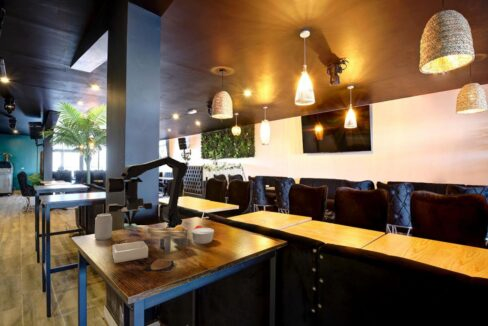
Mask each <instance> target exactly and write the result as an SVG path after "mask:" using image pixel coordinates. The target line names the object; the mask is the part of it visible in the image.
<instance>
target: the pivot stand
mask: <svg viewBox="0 0 488 326" xmlns="http://www.w3.org/2000/svg"><path fill="white" fill-rule="evenodd" d="M158 240H159V241H158V243H159V244H158V247H159V248H164V254H165V255H169V254H171V243H172V241H171V240H172V239H171V237H170V236H168V237H165V239H158Z"/></svg>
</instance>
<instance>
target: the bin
mask: <svg viewBox="0 0 488 326" xmlns="http://www.w3.org/2000/svg"><path fill="white" fill-rule="evenodd" d="M112 258H113V262H114V264H119V263H123V262H128V261H133V260H140V259H141V260H142V259H145V258H149V247H148V245H147V244H146V242H145V241H144V240H139V241H138V240H137V241H133V242H132V241H131V242H125V243H120V244H119V243H118V244H112Z"/></svg>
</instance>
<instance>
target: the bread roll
mask: <svg viewBox="0 0 488 326" xmlns="http://www.w3.org/2000/svg"><path fill="white" fill-rule="evenodd" d="M176 266H177V262H174V260H170V259H169V258H157V259H153V260H151V262H148V265H146V266H145V267H144V268H143V273H171V272H172V273H173V272H174V271H175V268H176Z"/></svg>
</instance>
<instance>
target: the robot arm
mask: <svg viewBox="0 0 488 326" xmlns="http://www.w3.org/2000/svg"><path fill="white" fill-rule="evenodd" d="M163 166H167V167H169V168H170V169H172V170H171V173H172V174H171V175H172V183H171V189H170V193H169V198H168V204H167V205H166V206H163V208H162V213H161V215H162V218H163V220H164V221H165V223H166V227H165V228H175V227H176V226H178V225H181V226H182V223H183V220H182V218H181V217H179V214H180V213H179V208H178V203H179V199H180V198H179V197H180V193H181V188H182V181H183V179H184V177H185V176H186V174H187V171H188V167H189V166H188V165H187V164H186V162H182V161H179V160H177V159H175V158H173V157H171V156H170V155H169V156H163V157H160V158H157V159H154V160H151V161H148V162H144V163H138V164H131V165H127V166H125V167H124V169H123V172H122V173H121V174H120V175H119V176H118V177H115V178H114V177H108V178H107V181H106V184H105V192H106V194H115V193H117V194H119V193H122V191H124V192H123V194H124V195H123V197H124V198H123V204H118V203H109V204H108V205H107V213H116V212H118V211H119V210H121V212H122V214H125V217H126V219H127V224H129V225H131V224H133V221H134V218H135V217H136V214H137V213H138V212H140V209H143V208H144V209H145V210H153V203H152V202H150V201H144V198H143V197H142V198H140V197H138V195H139V193H138V191H139V183H143V180H142V179H141V178H140V177H139V176H142V175H144V173H146V172H148V171H152V170H155V169H156V168H159V167H163Z"/></svg>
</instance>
